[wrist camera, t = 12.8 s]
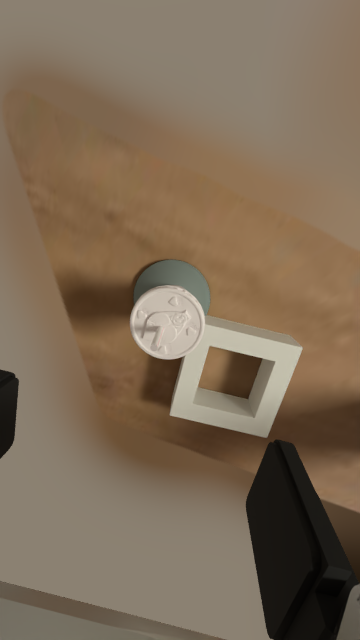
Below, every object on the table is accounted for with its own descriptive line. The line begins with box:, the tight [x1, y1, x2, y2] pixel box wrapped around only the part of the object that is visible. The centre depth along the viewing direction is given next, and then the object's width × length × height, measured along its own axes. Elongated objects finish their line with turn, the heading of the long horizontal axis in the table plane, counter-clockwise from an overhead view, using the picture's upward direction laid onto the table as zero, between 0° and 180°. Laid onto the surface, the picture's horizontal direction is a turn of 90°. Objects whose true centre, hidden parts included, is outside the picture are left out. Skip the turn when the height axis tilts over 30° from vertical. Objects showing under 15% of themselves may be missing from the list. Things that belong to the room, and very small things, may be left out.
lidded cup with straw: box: [130, 285, 205, 359], centre depth 25 cm, size 6×6×14 cm
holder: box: [170, 315, 303, 438], centre depth 33 cm, size 12×12×4 cm
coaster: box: [134, 260, 210, 316], centre depth 32 cm, size 9×9×1 cm
